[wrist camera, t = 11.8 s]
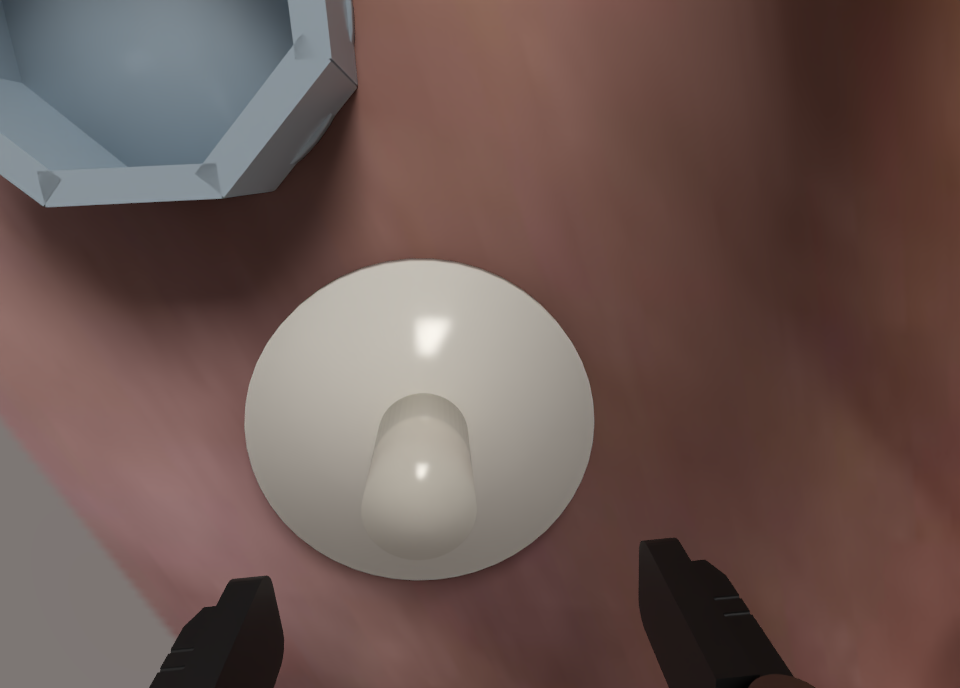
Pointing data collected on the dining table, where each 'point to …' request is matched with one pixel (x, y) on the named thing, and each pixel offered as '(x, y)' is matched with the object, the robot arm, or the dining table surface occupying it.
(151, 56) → the bowl
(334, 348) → the lid
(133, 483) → the dining table surface
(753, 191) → the dining table surface
